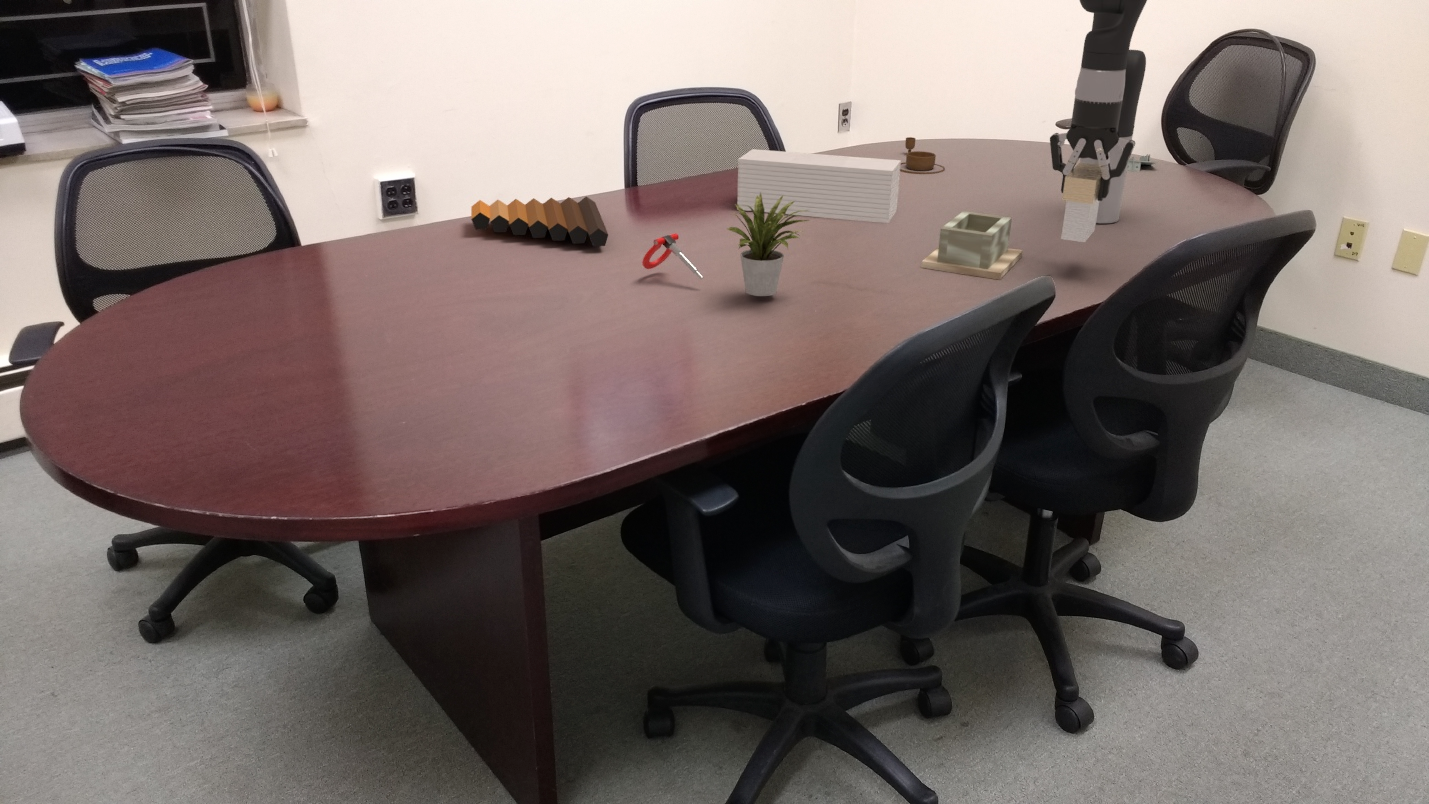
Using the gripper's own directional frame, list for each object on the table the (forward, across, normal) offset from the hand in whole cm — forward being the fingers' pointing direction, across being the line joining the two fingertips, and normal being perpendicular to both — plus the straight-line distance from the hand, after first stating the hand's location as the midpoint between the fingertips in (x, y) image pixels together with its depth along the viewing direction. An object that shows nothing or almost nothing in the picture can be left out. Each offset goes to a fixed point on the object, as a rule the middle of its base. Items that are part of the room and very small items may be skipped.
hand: (1083, 197), depth 188 cm
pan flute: (+11, +89, +36) cm, 96 cm away
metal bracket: (+13, -2, -93) cm, 94 cm away
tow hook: (+15, +62, +37) cm, 73 cm away
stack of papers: (+14, +56, -18) cm, 60 cm away
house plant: (+13, +42, +39) cm, 59 cm away
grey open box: (+13, +17, +3) cm, 22 cm away
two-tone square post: (+6, 0, 0) cm, 6 cm away
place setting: (+15, +49, -68) cm, 85 cm away
